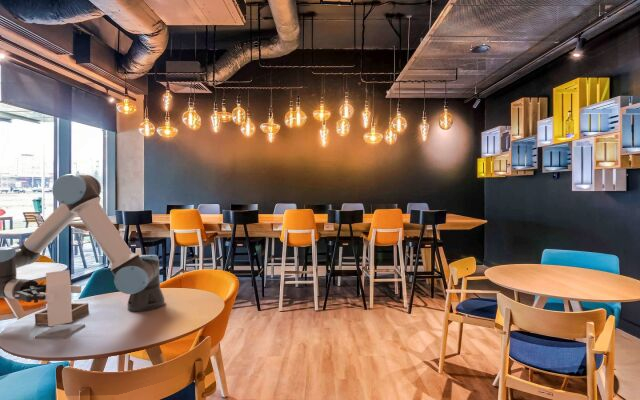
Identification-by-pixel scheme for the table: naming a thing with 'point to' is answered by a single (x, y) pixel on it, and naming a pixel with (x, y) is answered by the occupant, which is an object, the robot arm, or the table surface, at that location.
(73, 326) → the slate pad
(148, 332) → the table surface
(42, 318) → the walnut holder
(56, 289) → the milk carton
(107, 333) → the table surface
